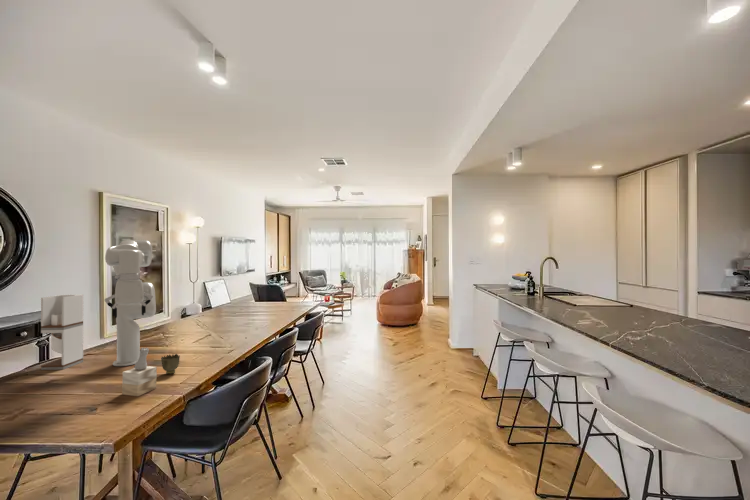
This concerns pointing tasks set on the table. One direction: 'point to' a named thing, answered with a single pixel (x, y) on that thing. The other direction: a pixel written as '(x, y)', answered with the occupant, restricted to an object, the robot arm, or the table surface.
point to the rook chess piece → (142, 360)
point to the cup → (170, 363)
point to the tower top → (139, 375)
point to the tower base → (138, 388)
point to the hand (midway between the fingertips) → (129, 316)
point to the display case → (63, 328)
